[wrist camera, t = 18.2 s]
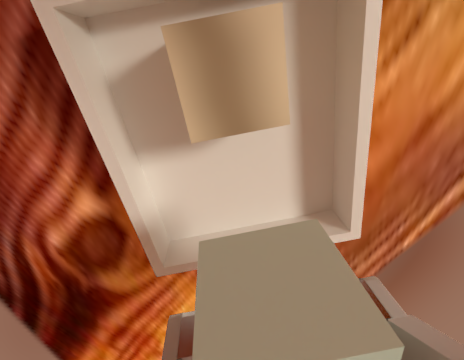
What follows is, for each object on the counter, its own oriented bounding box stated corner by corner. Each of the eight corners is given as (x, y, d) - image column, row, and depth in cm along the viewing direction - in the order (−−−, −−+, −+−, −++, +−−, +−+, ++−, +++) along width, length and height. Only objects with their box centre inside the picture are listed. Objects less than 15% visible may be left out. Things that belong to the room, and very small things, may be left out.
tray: (343, -47, 14) (390, -85, 10) (335, 209, 22) (360, 238, 18) (72, 7, 14) (24, -12, 10) (165, 242, 22) (156, 277, 18)
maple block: (259, 21, 14) (282, 2, 10) (268, 107, 16) (289, 124, 12) (176, 37, 14) (160, 26, 10) (196, 121, 16) (191, 143, 12)
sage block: (316, 218, 10) (404, 346, 5) (317, 297, 12) (380, 433, 8) (198, 241, 10) (190, 387, 5) (221, 315, 12) (228, 462, 8)
